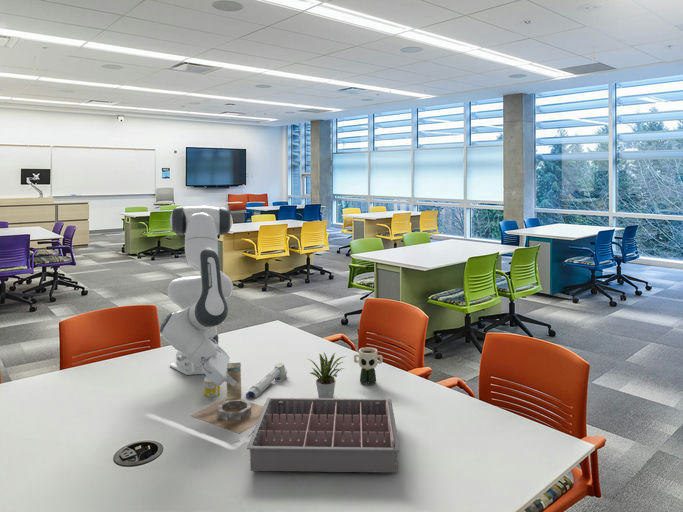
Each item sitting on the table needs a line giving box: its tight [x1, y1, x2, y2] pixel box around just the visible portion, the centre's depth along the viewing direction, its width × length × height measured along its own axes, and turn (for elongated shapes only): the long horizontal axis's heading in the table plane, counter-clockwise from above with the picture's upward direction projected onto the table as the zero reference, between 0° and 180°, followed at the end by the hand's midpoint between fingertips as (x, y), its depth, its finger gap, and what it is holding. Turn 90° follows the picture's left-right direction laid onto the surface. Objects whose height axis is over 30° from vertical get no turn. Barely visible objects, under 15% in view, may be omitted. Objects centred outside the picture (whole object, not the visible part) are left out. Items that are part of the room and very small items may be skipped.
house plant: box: [308, 352, 348, 399], centre depth 180 cm, size 14×14×16 cm
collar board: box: [190, 398, 265, 435], centre depth 166 cm, size 22×18×4 cm
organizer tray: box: [246, 394, 401, 473], centre depth 147 cm, size 32×40×10 cm
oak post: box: [226, 362, 242, 401], centre depth 165 cm, size 4×4×11 cm
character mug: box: [353, 346, 383, 386], centre depth 193 cm, size 11×7×13 cm, turn 84°
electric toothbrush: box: [245, 362, 288, 399], centre depth 190 cm, size 5×7×25 cm
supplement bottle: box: [203, 375, 221, 398], centre depth 181 cm, size 5×5×10 cm
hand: (235, 380), depth 165 cm, fingers closed on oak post, 4 cm apart
